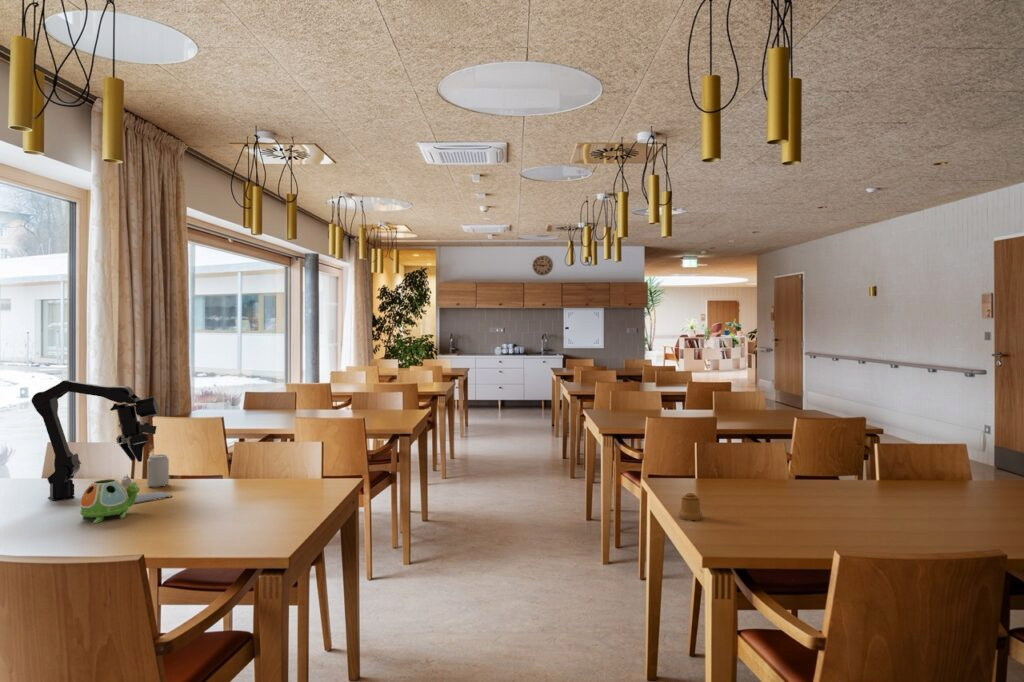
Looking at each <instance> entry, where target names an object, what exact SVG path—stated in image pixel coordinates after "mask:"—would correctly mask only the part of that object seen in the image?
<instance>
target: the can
mask: <svg viewBox="0 0 1024 682" xmlns="http://www.w3.org/2000/svg"><path fill="white" fill-rule="evenodd" d="M146 461H147V462H146V485H147V486H148V487H149V488H153V487H156V488H161V487H160V486H163V487H165V486H164V485H166V486H167V485H168V484H169V481H170V477H169V476H170V472H169V470H170V467H169V466H170V464H169V461H170V459H169V457H168V455H167V454H164V453H163V454H152V455H149V456H148V459H147V460H146Z"/></svg>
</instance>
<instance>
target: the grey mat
mask: <svg viewBox="0 0 1024 682" xmlns="http://www.w3.org/2000/svg"><path fill="white" fill-rule="evenodd" d="M169 496H172V497H173V495H172V494H168V493H166V492H164V491H154V492H148V493H143V494H137V496H136V499H135V502H134V503H133V504H132V505H135V503H137V504H141V503H140V502H142V503H146V502H145V501H148V502H151V501H150V500H153V501H155V500H154V499H159V498H164V497H169ZM164 499H165V498H164ZM159 500H160V499H159Z"/></svg>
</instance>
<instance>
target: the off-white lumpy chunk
mask: <svg viewBox="0 0 1024 682" xmlns="http://www.w3.org/2000/svg"><path fill="white" fill-rule="evenodd" d="M131 483H133V481H132V479H131V477H130V476H129V475H128V474H126V476H125V475H124V477H123V478H122V479H121V483H120V484H122V485H123V486H124V488H125V489H127V487H128V486H129V484H131ZM126 491H127V490H126ZM127 494H128V493H127Z"/></svg>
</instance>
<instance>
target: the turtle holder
mask: <svg viewBox="0 0 1024 682" xmlns="http://www.w3.org/2000/svg"><path fill="white" fill-rule="evenodd" d="M140 489H141V488H140V487H139V486H138V484H137V482H131V484H129V486H128V487H127V489H125V488H124V486H123V485H122V484H121V483H120V482H119V480H118V479H116V478H115V479H114V478H106V479H99V480H95V481H92V482H91V484H90V485H88V487H86V488H85V490H84V492H83V493H82V497H81V499H80V509H81V510H80V515H81V516H82V519H83V520H84V519H90V518H95V519H94V520H93V521H92V523H93V524H98V523H101V522H102V521H103V520H104V517H109V516H115V515H118V514H119V516H118V517H119V519H124V517H125V518H126V517H127V511H128V510H129V508H131V507H132V506H133V505H134V504H133V503H134V502H135V499H136V496H137V495H138V493H140ZM126 490H127V491H126ZM127 493H128V494H127Z"/></svg>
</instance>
